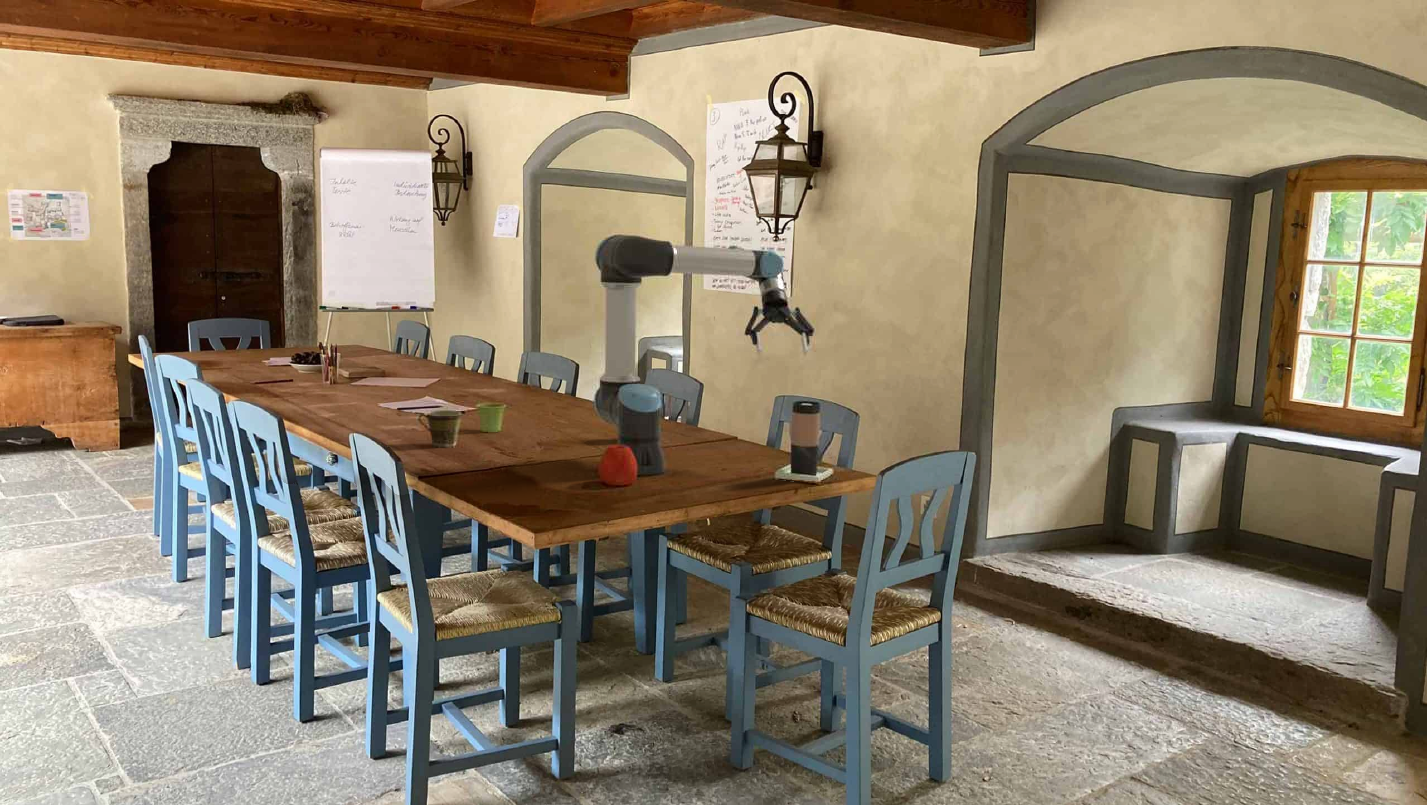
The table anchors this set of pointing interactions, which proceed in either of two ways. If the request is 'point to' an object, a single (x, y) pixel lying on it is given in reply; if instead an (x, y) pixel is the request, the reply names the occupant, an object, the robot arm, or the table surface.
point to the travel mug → (805, 437)
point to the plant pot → (491, 416)
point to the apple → (618, 466)
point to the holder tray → (786, 474)
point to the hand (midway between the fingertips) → (782, 353)
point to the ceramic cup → (443, 427)
